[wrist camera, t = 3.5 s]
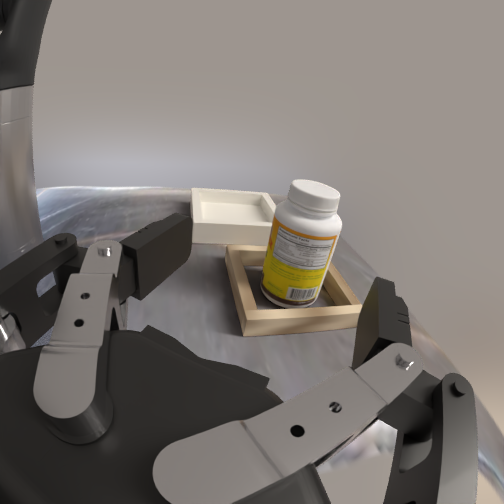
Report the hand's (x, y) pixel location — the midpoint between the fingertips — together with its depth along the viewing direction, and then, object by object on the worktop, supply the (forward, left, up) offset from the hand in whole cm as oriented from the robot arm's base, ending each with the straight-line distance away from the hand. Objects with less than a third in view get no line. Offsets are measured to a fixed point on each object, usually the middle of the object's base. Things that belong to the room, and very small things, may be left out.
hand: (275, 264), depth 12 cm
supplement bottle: (0, +12, -10) cm, 16 cm away
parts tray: (-10, +22, -10) cm, 26 cm away
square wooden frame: (0, +12, -10) cm, 15 cm away
